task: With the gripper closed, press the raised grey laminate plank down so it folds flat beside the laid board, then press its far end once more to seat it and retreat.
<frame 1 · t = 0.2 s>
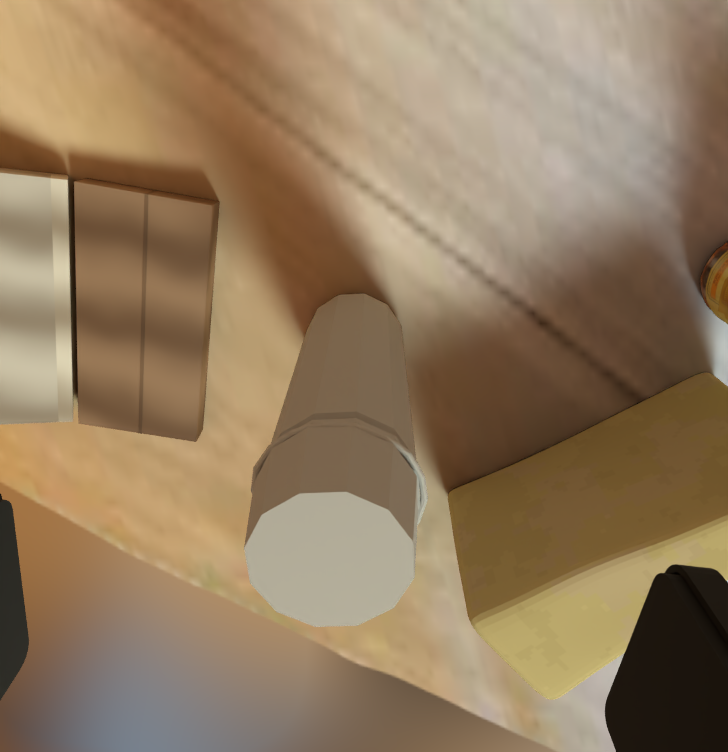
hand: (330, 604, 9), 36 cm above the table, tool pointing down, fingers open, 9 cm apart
water bottle: (352, 346, 47), on the table
cheese: (584, 454, 50), on the table
laid board: (149, 314, 46), on the table
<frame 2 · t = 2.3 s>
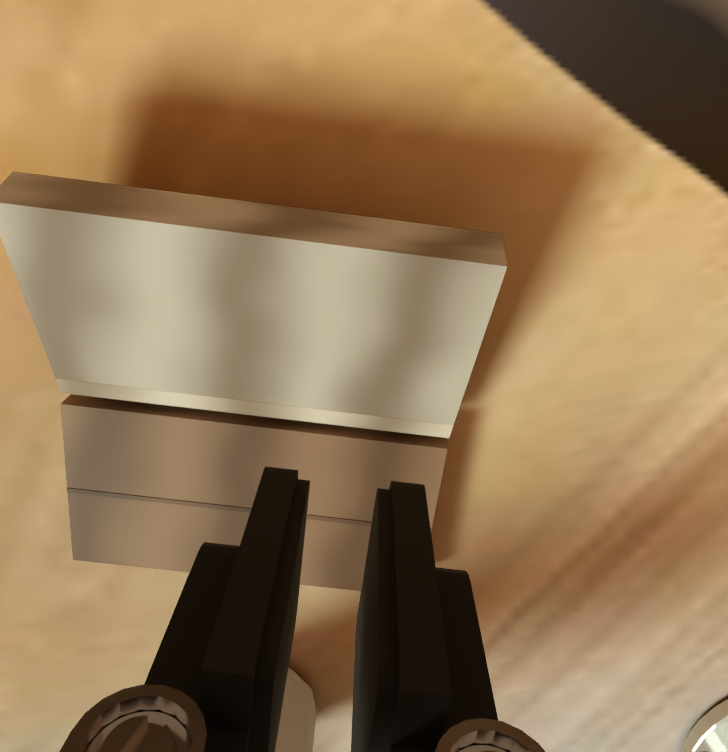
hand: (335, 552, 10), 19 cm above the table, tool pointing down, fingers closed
water bottle: (245, 688, 38), on the table
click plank: (258, 321, 26), point 3 cm above the table, hinge at 24.0°
laid board: (258, 484, 32), on the table
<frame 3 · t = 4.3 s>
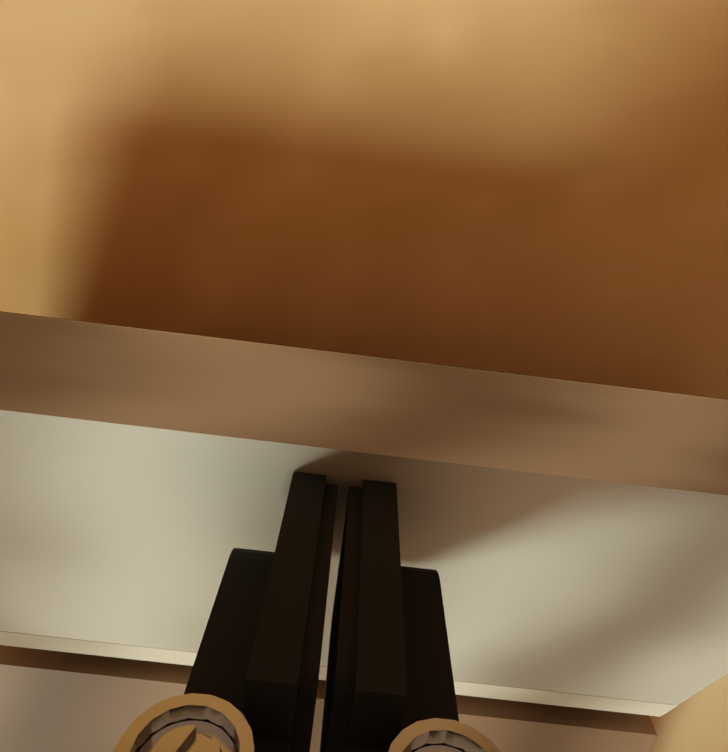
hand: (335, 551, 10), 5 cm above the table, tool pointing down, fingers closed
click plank: (340, 553, 13), point 3 cm above the table, hinge at 23.4°, touching gripper
laid board: (313, 744, 20), on the table
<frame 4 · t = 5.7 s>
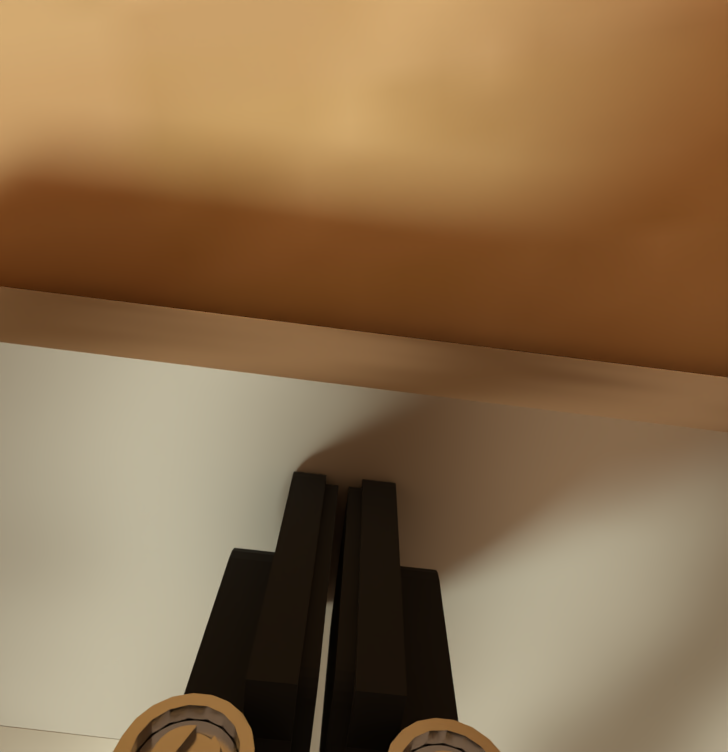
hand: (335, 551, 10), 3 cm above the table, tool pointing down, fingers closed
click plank: (364, 591, 12), point 1 cm above the table, hinge at 5.0°, touching gripper
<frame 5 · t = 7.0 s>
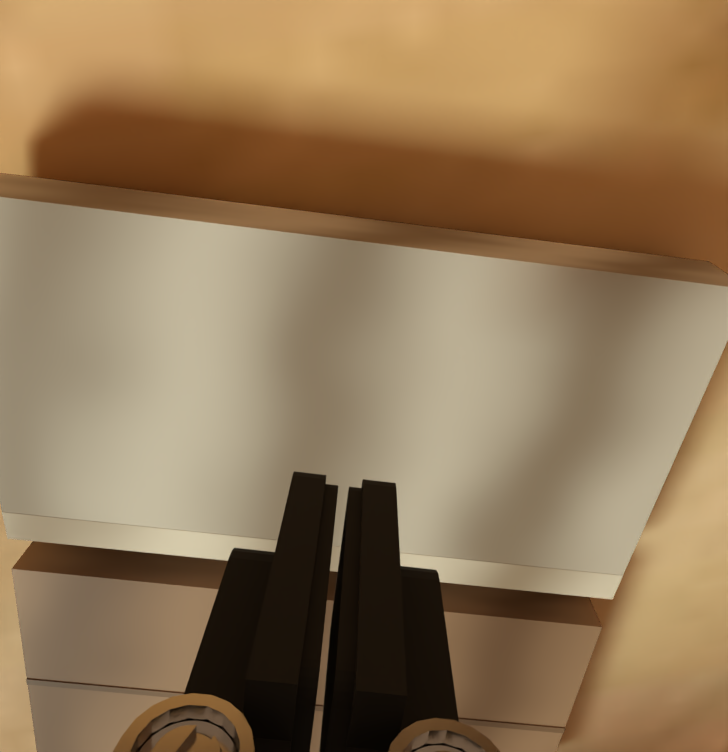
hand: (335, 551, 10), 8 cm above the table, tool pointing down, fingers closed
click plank: (334, 409, 17), point 1 cm above the table, hinge at 4.8°
laid board: (306, 652, 22), on the table
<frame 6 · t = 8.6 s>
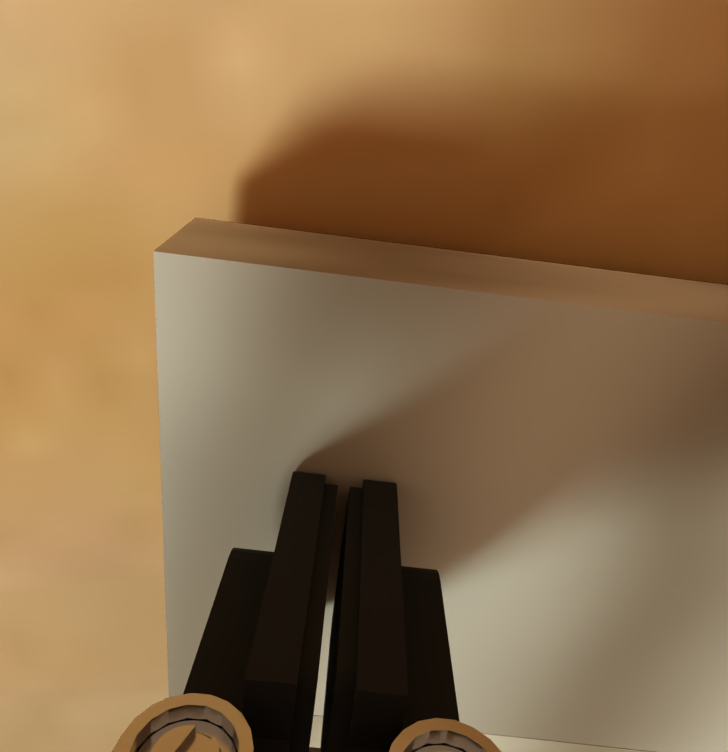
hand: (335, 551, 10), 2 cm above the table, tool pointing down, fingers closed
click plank: (668, 561, 11), point 1 cm above the table, hinge at 3.8°, touching gripper
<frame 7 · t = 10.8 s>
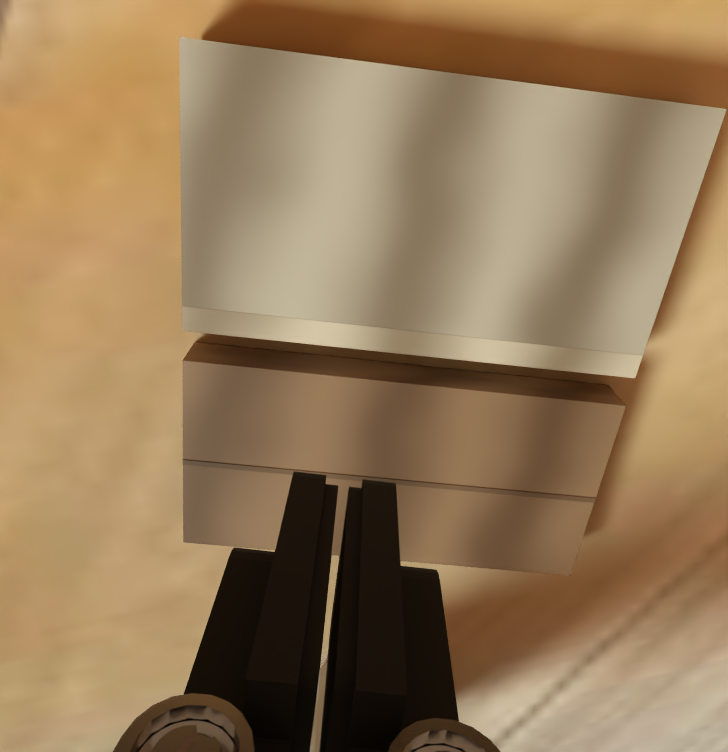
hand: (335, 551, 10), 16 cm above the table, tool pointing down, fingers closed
water bottle: (355, 680, 35), on the table
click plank: (431, 222, 23), point 1 cm above the table, hinge at 1.2°
laid board: (391, 453, 28), on the table
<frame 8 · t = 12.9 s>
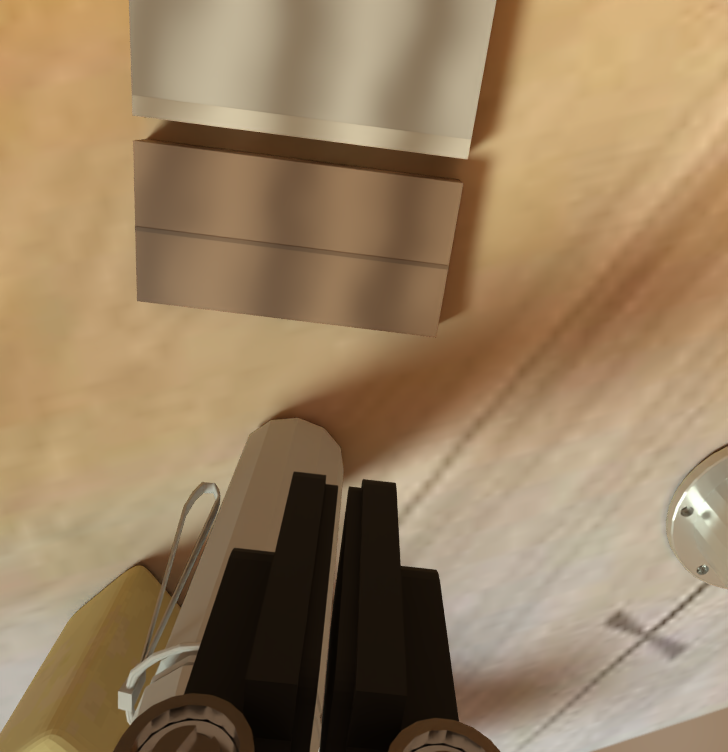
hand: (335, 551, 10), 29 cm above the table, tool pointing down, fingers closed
water bottle: (280, 454, 43), on the table
cheese: (208, 664, 51), on the table
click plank: (311, 33, 32), point 1 cm above the table, hinge at 1.2°
laid board: (297, 238, 37), on the table
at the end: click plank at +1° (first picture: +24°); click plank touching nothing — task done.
